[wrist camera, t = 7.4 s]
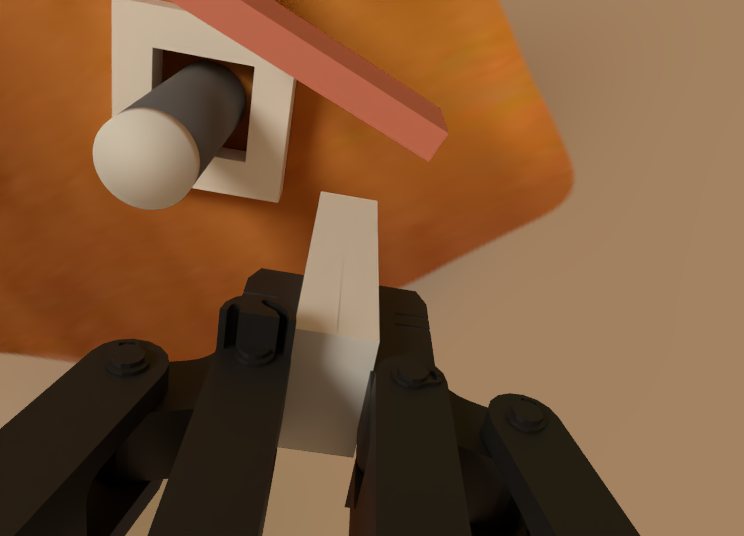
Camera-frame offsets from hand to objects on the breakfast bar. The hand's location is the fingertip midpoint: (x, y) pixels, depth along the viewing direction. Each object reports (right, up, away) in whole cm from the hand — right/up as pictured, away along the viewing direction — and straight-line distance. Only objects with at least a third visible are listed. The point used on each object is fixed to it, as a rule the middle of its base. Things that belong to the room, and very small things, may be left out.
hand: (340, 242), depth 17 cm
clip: (-3, +8, +7) cm, 11 cm away
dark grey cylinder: (-9, +9, +21) cm, 25 cm away
